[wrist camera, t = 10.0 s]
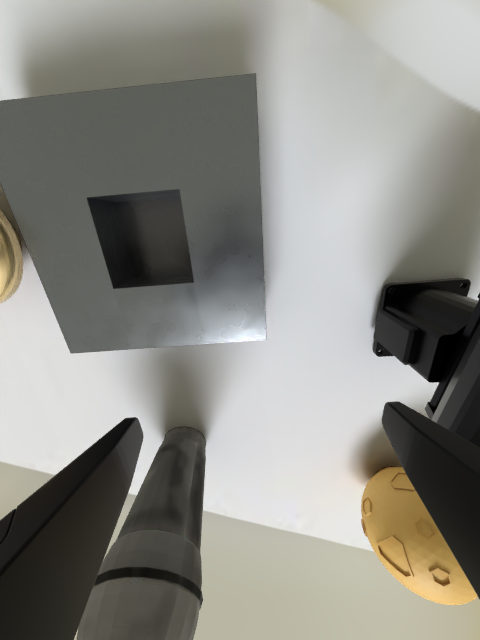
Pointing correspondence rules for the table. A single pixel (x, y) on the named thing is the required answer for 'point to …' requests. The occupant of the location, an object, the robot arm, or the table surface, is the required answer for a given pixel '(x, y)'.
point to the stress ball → (411, 540)
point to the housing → (142, 210)
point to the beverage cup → (155, 553)
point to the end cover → (9, 259)
